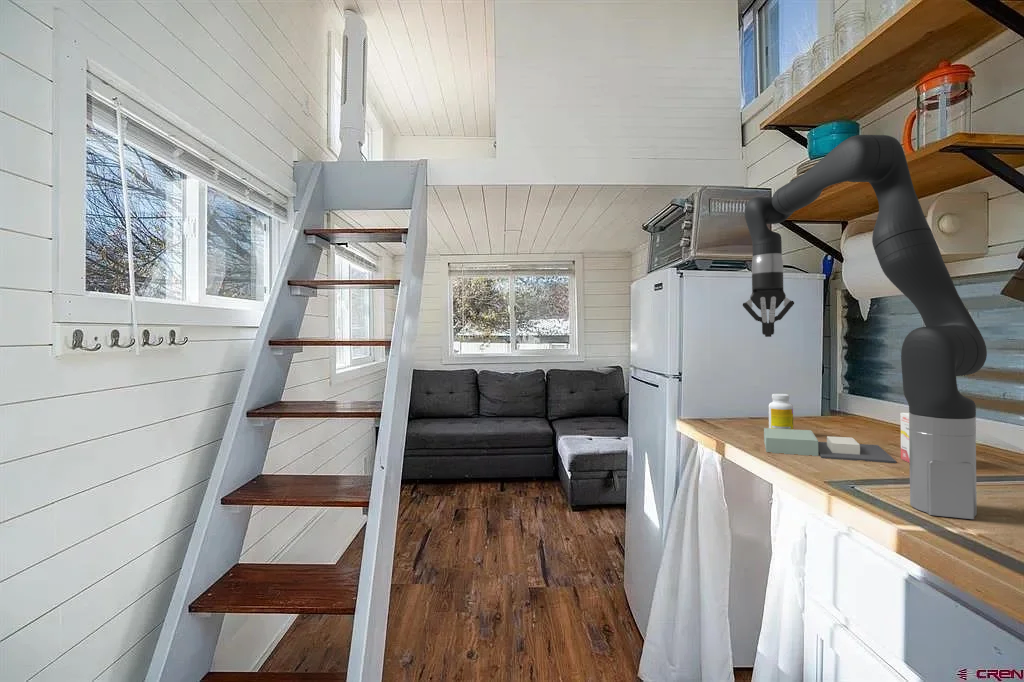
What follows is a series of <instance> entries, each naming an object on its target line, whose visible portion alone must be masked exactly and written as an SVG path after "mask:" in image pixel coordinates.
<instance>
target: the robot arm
mask: <svg viewBox="0 0 1024 682" xmlns="http://www.w3.org/2000/svg"><path fill="white" fill-rule="evenodd" d="M844 182H845V183H846V182H851V183H869V184H870V185H871V188H872V189H873V192H874V194H875V197H876V199H877V202H878V203H877V204H878V214H877V218H876V221H875V224H874V227H873V230H872V237H871V239H872V240H871V242H872V247H873V249H874V252H875V255H876V258H877V261H878V263H879V267H880V268H881V270H882V273H883V274H884V275H885V277H886V278H887V279H888V280H889V281H890V283H892V284H893V285H894V287H896V288H897V289H898V290H899V292H901V294H903V295H904V296H905V297H906V298H907V299H908V300H909V301H910V303H912V304H913V305H914V307H916V309H917V312H918V313H919V314H920V317H921V319H922V321H923V324H924V326H920V327H916V328H915V329H913V330H911V331H910V332H909V333H907V335H906V336H905V338H904V340H903V341H902V346H901V351H900V352H901V353H900V361H901V363H900V364H901V366H900V367H901V379H902V388H903V389H902V391H903V395H904V397H905V400H906V402H907V404H908V413H909V459H910V463H909V505H910V506H911V507H913V508H914V509H916V510H919V511H921V512H924V513H927V514H928V516H929V515H930V516H938V517H947V518H956V519H957V518H958V519H967V520H975V517H976V516H977V514H978V513H977V512H978V510H977V507H978V506H977V502H978V500H977V498H978V497H977V441H976V440H977V428H976V427H977V421H976V419H977V417H976V416H977V409H976V408H977V406H976V403H975V401H974V400H972V399H971V398H968V397H967V396H964V395H963V394H962V393H960V391H959V390H958V389H959V388H958V382H957V381H958V380H957V377H964V376H969V375H973V374H976V373H977V372H979V371H980V370H981V369H982V368H983V367H984V365H985V362H986V360H987V357H988V356H987V355H988V353H987V352H988V351H987V343H986V342H985V340H984V337H983V335H982V333H981V331H980V330H979V327H978V326H977V324H976V323H975V321H974V319H973V317H972V315H970V312H969V311H968V309H967V307H966V305H965V304H964V302H963V301H962V299H961V296H960V294H959V293H958V291H957V288H956V285H955V284H954V282H953V279H952V276H951V275H950V272H949V270H948V267H947V266H946V264H945V261H944V259H943V256H942V254H941V251H940V249H939V246H938V245H939V244H938V243H937V240H936V238H935V236H934V234H933V231H932V229H931V227H930V225H929V223H928V221H927V219H926V215H925V213H924V211H923V209H922V207H921V203H920V200H919V198H918V195H917V193H916V191H915V188H914V184H913V181H912V176H911V173H910V169H909V164H908V161H907V158H906V155H905V151H904V147H903V146H902V145H901V142H900V141H899V140H898V139H897V138H896V137H894V136H891V135H886V134H857V135H854V136H853V135H852V136H850V137H848V138H847V139H845V140H842V142H840V143H839V144H838V145H837V146H835V147H834V148H833V149H832V150H831V151H830V152H828V153H827V154H826V155H824V157H822V159H820V160H819V161H818V162H816V164H814V165H813V166H812V167H811V168H809V169H808V170H807V171H805V172H804V173H803V174H801V175H800V176H798V177H796V178H795V179H793V180H791V181H789V182H787V183H786V184H784V185H782V186H781V187H779V188H777V189H776V191H774V193H773V195H772V196H756V197H752V198H751V199H750V200H749V201H748V202H747V203H746V206H745V208H744V218H745V223H746V226H747V229H748V231H749V232H748V233H749V235H750V238H751V242H752V243H751V245H752V258H751V260H752V261H751V295H750V297H749V298H748V299H747V301H746V302H743V303H742V307H743V308H744V309H745V310H746V311H747V312H748V314H749V315H750V316H751V317H752V318H753V319H754V321H756V322H759V323H761V333H762V335H763V336H764V337H765V338H771V337H772V335H774V334H775V323H776V322H778V321H781V320H782V319H783V317H784V316H786V314H787V313H788V312H789V311H790V310H791V308H792V307H793V306H794V305H795V301H793V300H791V299H789V298H787V295H786V293H785V291H784V261H783V254H782V253H783V252H782V251H783V246H782V245H783V241H782V235H781V234H780V233H779V232H777V231H772V230H771V229H769V227H768V225H777V224H780V223H784V222H785V221H786V220H788V219H789V217H791V216H792V214H794V212H796V211H799V210H801V209H803V208H805V207H807V206H809V205H810V204H812V203H814V201H817V199H818V198H819V197H820V196H821V194H822V192H823V190H824V189H826V188H828V187H830V186H834V185H837V184H841V183H844ZM752 303H753V304H754V305H755V307H756V308H757V309H758V310H760V315H758V314H757V313H756V311H754V309H753V306H754V305H753V304H752ZM781 304H782V305H783V308H782V309H781V311H779V313H778V314H777V315H776V310H777V309H778V308H779V307H780V305H781ZM767 310H768V311H769V312H768V315H767ZM775 315H776V316H775Z"/></svg>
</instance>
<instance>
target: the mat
mask: <svg viewBox="0 0 1024 682" xmlns="http://www.w3.org/2000/svg"><path fill="white" fill-rule="evenodd" d="M859 444H860V455H859V454H843V453H832V452H831V450H830V449H829V447H828V446H827V441H818V456H819V458H820V459H827V458H831V459H830V460H842V459H843V461H845V460H846V461H857V460H865V461H864V462H871V461H872V462H873V463H888V464H897V460H896V459H895V458H893V457H892V456H891V454H889V453H887V452H886V450H884V449H883V448H882V447H881V446H880V445H879V444H868V443H867V444H866V443H859Z"/></svg>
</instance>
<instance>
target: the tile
mask: <svg viewBox="0 0 1024 682" xmlns="http://www.w3.org/2000/svg"><path fill="white" fill-rule="evenodd" d="M826 442H827V446H828V447H829V449H830V450H831V452H832V453H843V454H859V455H860V444H861V443H859V442H857V440H856V439H854V438H853V437H848V436H847V437H846V436H826Z"/></svg>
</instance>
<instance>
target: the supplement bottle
mask: <svg viewBox="0 0 1024 682" xmlns="http://www.w3.org/2000/svg"><path fill="white" fill-rule="evenodd" d="M771 399H772V401H771V402H769V404H768V428H773V429H793V430H794V406H793V404H792V403H790V402H789V400H790V395H789V394H787V393H772V394H771Z"/></svg>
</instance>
